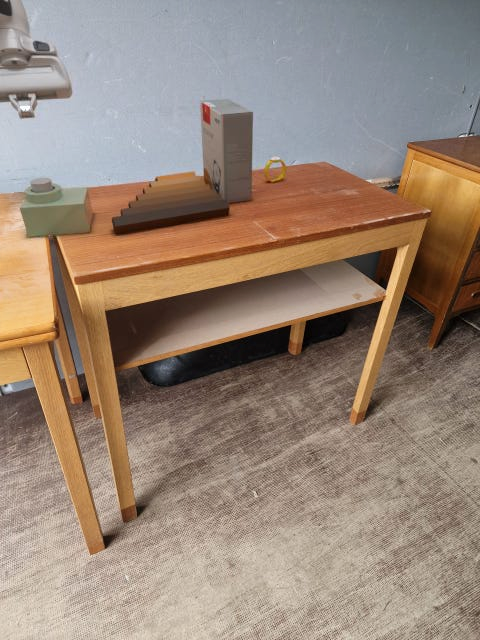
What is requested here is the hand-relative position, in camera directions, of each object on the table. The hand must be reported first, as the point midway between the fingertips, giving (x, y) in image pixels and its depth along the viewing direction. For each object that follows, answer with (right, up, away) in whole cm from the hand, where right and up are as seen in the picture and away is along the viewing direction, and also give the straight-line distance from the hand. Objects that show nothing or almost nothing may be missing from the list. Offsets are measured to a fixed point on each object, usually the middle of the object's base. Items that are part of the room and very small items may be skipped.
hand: (27, 116), depth 92 cm
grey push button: (+4, -16, -2) cm, 17 cm away
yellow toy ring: (+53, -5, +26) cm, 60 cm away
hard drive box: (+41, -10, +19) cm, 46 cm away
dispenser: (+6, -22, +3) cm, 23 cm away
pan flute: (+25, -16, +12) cm, 32 cm away
